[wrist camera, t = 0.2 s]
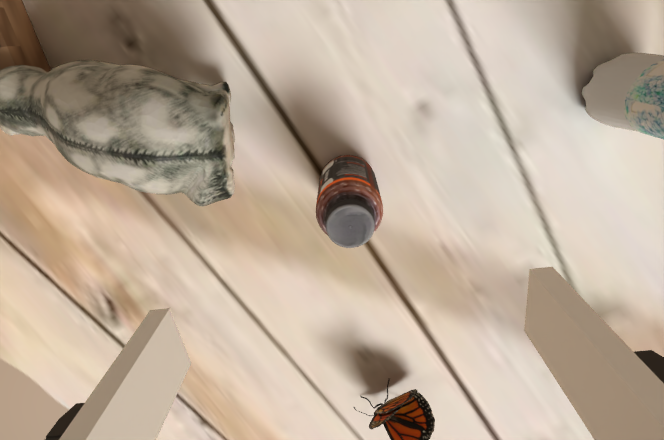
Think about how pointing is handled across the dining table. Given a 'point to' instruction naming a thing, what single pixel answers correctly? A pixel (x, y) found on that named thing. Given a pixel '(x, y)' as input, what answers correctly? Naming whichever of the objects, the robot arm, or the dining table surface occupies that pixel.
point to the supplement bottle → (348, 201)
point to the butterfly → (405, 417)
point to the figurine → (127, 125)
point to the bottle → (628, 93)
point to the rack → (18, 38)
